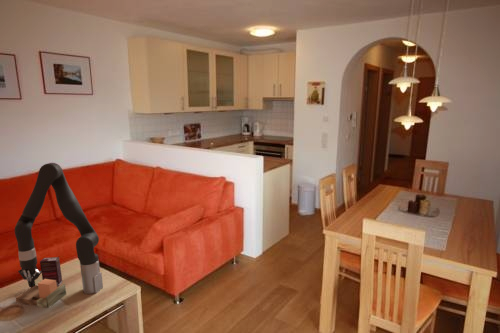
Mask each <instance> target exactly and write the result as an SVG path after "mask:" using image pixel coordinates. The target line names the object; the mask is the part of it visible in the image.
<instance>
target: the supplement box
mask: <svg viewBox="0 0 500 333" xmlns="http://www.w3.org/2000/svg"><path fill="white" fill-rule="evenodd" d="M39 264H40V271H42V273H41V279H42V280H44V279H50V280H56V284H57V287H60V286H61V284H62V282H63V278H62V277H63V276H62V270H61V263H60V257H59V256H55V257H54V256H53V257H43V258H42V259H41V260H39Z"/></svg>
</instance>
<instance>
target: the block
mask: <svg viewBox="0 0 500 333" xmlns="http://www.w3.org/2000/svg"><path fill="white" fill-rule="evenodd" d="M37 286H38V289H39V296H40V297H42V298H46V296H48V295H49V294H51V293H52V292H53V291H55V290H56V289H57V288H58V286H57V284H56V280H50V279H44V280H43V279H42V280H40V281H39V282H38V283H37Z"/></svg>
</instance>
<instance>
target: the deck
mask: <svg viewBox="0 0 500 333" xmlns="http://www.w3.org/2000/svg"><path fill="white" fill-rule="evenodd" d="M66 295H67V288H66V284H64V283H63V284H62V285H59V286H58V287H57V289H56V290H55V291H53V292H52V293H51V294H49V295H48V296H46V298H42V297H40V296H39V289H38V284H37V285H36V284H35V286H34V287H32V288H31V287H29V288H28V289H26V290H25V291H24V292H21V294H19V295H17V296H16V297H15V301H16V302H15V303H16V304H21V303H22V305H27V306H35V307H42V308H51V307H52V306H53V305H54V304H56V303H57V302H59V301H60V300H61V299H62V298H64V297H65V296H66Z"/></svg>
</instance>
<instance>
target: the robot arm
mask: <svg viewBox="0 0 500 333" xmlns="http://www.w3.org/2000/svg"><path fill="white" fill-rule="evenodd" d="M50 187H52V189H53V190H54V195H55V198H56V201H57V202H56V203H57V205H58V208H59V210H60V211H61V214H62V215H63V217H64V218H65V219H66V220H67V221H69V223H71V224H73V225H74V226H75V227H76V228H77V230H78V232H79V234H80V237H78V239H77V240H76V242H75V250H76V254H77V256H76V257H77V259H78V261H79V265H80V266H79V267H80V274H81V276H80V277H81V283H82V291H83V293H84V294H85V295H93V294H97V293H98V292H99V291H100V290H101V289H103V288H104V285H103V275H102V273H103V272H102V271H101V270H100V261H99V254H97V253H95V247H96V246H97V245H98V243H99V242H100V238H99V236H98V233H97V232H96V230H95V229H94V227H93V226H92V225H91V223H90V222H89V220H88V218H87V215H86V214H85V213H84V211H83V208H82V206H81V205H80V203H79V201H78V199H77V197H76V195H75V194H74V192H73V190H72V188H71V187H70V185H69V183H68V181H67V179H66V176H65V173H64V170H63V169H62V166H60V164H57V163H56V162H49V163H45V164H43V165H42V166H40V168H39V170H38V174H37V177H36V181H35V184H34V187H33V188H32V192H31V194H30V195H29V198H28V199H27V202H26V204H25V206H24V208H23V210H22V212H21V213H22V214H20V216H19V218H18V220H17V222H16V224H15V225H14V226H15V227H14V235H15V240H16V241H17V248H18V260H19V267H20V268H21V269H19V270H18V271H17V272H18V273H19V275H20V276H21V277H22V278H23V280H26V281H27V284H28V286H29V288H32V287H34V286H35V285H36V280H37V279H39V277H40V275H42V271H41V270H39V269H38V267H37V264H38V258H37V257H38V256H37V251H36V247H35V241H34V238H33V235H32V234H33V232H32V228H33V225H34V223H35V220H36V219H37V217H38V216H39V214H40V212H41V210H42V208H43V205H44V204H45V199H46V196H47V193H48V191H49V189H50Z"/></svg>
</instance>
